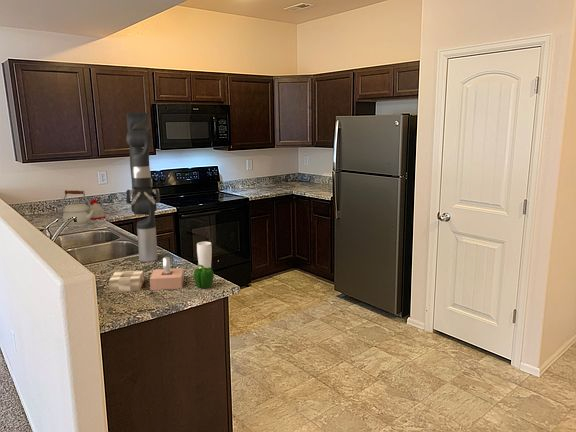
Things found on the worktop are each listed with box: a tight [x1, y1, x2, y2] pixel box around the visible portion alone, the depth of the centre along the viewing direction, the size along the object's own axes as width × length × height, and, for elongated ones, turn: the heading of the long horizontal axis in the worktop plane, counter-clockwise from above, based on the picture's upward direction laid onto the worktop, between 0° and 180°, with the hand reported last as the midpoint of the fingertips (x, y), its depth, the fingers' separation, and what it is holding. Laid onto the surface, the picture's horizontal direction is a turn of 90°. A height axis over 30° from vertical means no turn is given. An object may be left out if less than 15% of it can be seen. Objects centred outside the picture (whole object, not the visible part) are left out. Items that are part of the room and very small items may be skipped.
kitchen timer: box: [87, 198, 106, 221], centre depth 343 cm, size 14×14×15 cm
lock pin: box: [162, 256, 171, 275], centre depth 194 cm, size 3×3×12 cm
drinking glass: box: [196, 241, 213, 269], centre depth 207 cm, size 7×7×15 cm
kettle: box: [60, 189, 95, 228], centre depth 318 cm, size 25×18×25 cm
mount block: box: [108, 270, 145, 293], centre depth 192 cm, size 12×12×5 cm
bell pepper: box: [193, 264, 215, 289], centre depth 191 cm, size 8×8×10 cm
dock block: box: [149, 267, 185, 291], centre depth 195 cm, size 13×13×5 cm
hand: (144, 212), depth 201 cm, fingers open, 8 cm apart
